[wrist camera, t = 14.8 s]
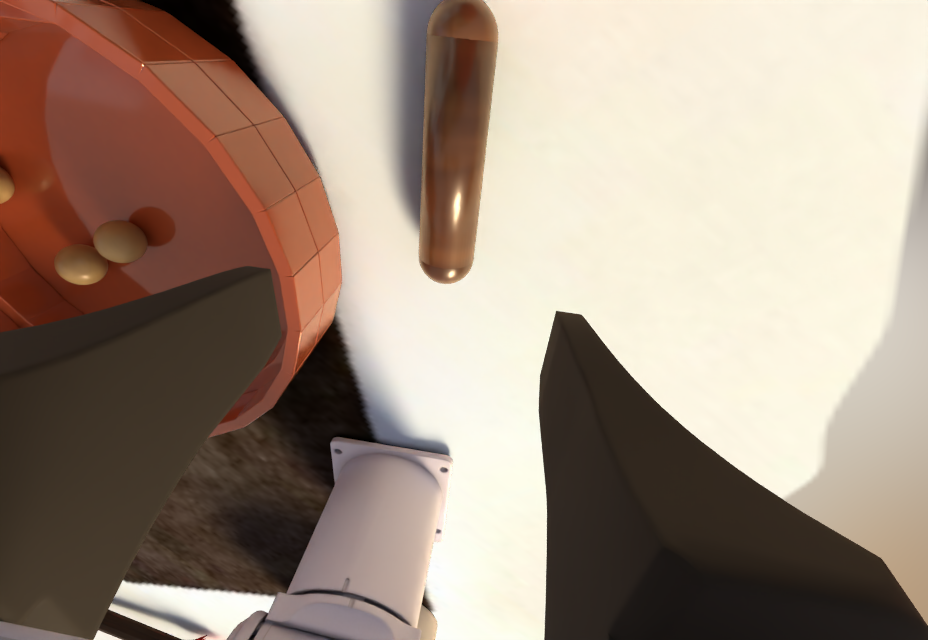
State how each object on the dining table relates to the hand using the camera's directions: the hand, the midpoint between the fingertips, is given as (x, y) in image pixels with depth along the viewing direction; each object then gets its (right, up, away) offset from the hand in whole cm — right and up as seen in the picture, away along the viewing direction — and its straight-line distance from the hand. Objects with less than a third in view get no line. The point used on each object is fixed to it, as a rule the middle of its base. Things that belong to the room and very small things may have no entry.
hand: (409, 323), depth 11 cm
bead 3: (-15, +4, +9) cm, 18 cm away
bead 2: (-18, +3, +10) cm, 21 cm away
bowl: (-14, +5, +10) cm, 18 cm away
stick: (+1, +7, +7) cm, 10 cm away
